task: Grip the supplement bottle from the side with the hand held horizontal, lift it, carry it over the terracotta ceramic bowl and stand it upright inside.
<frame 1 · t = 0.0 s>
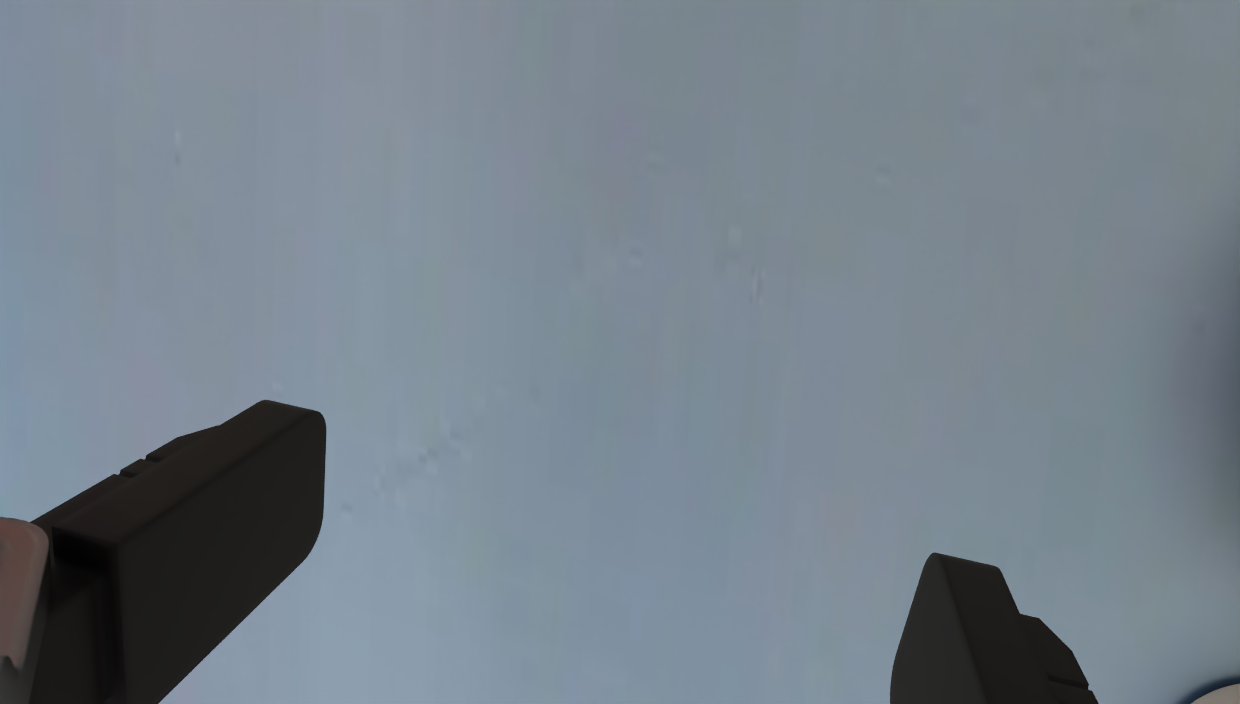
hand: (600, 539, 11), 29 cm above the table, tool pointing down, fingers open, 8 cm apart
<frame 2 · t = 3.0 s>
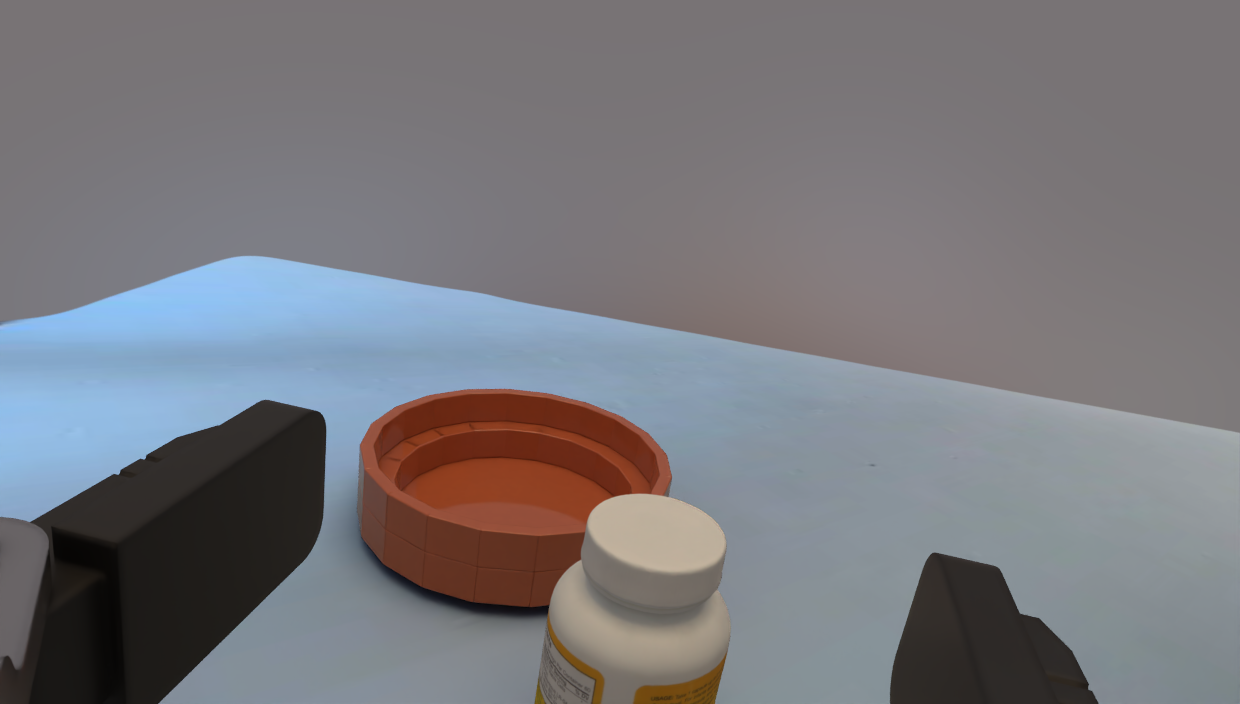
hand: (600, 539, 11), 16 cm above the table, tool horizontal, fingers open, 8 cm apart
bowl: (511, 523, 40), on the table
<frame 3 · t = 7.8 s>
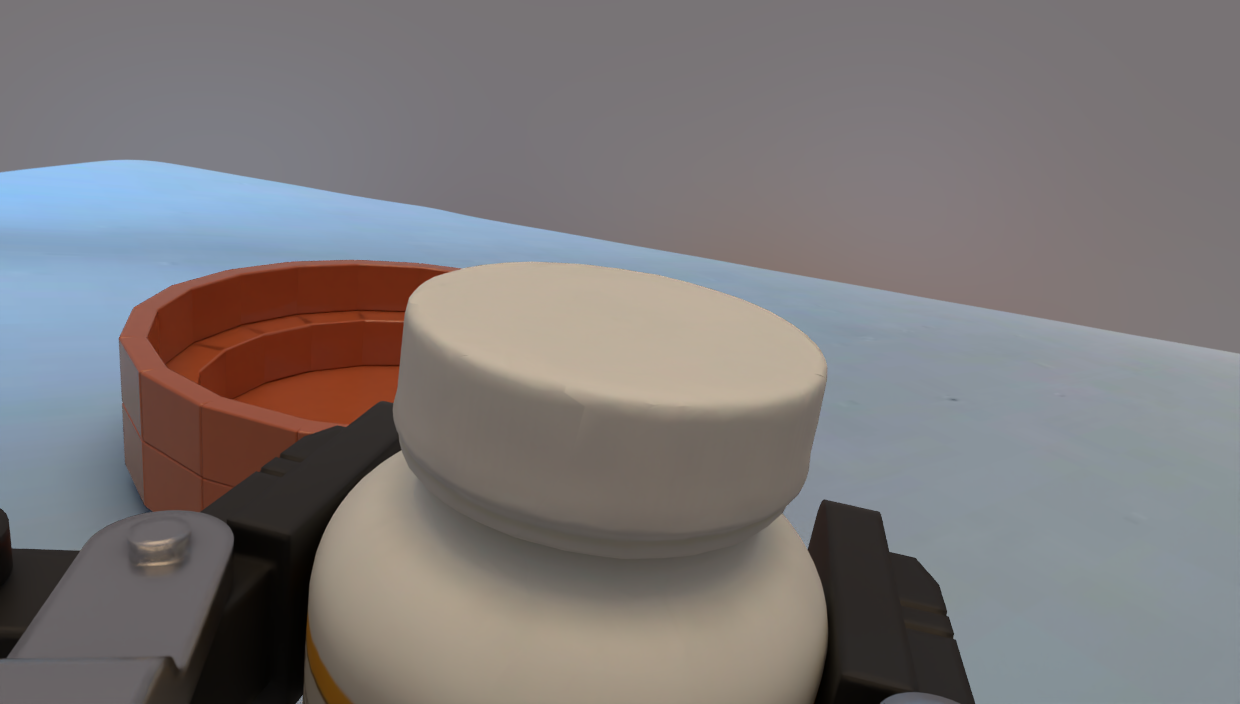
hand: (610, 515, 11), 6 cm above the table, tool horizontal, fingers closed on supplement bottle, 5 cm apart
bowl: (407, 455, 25), on the table
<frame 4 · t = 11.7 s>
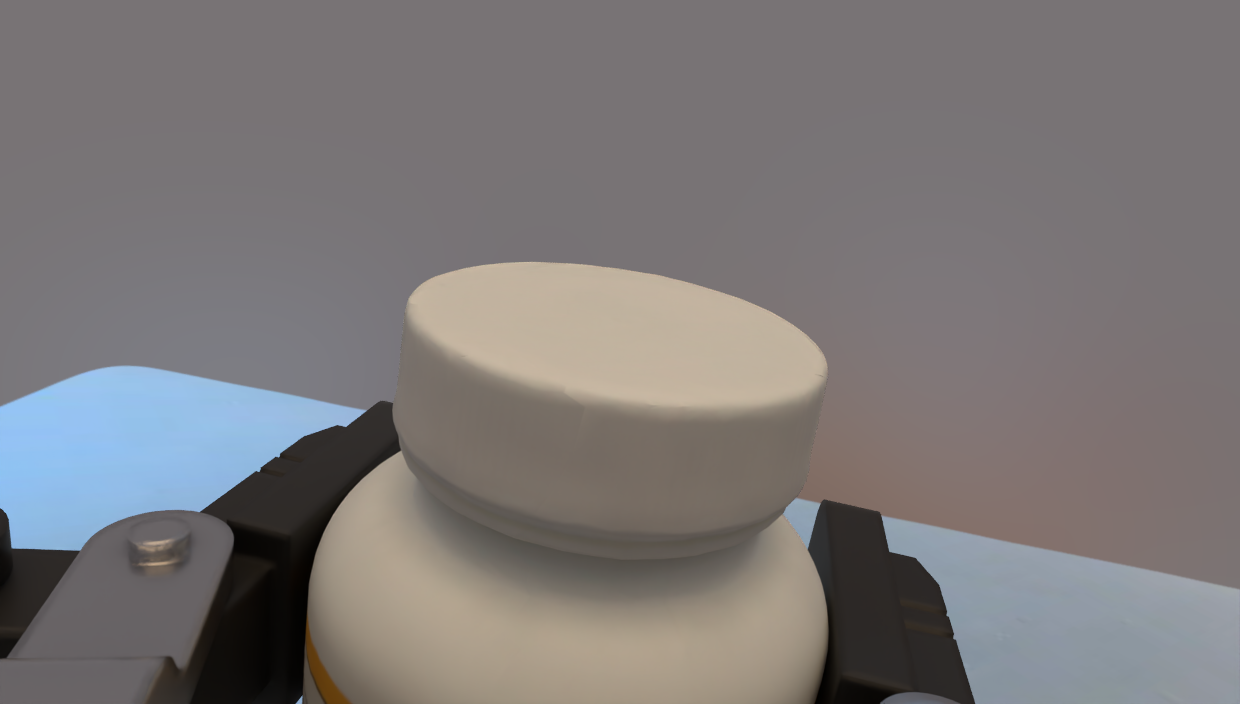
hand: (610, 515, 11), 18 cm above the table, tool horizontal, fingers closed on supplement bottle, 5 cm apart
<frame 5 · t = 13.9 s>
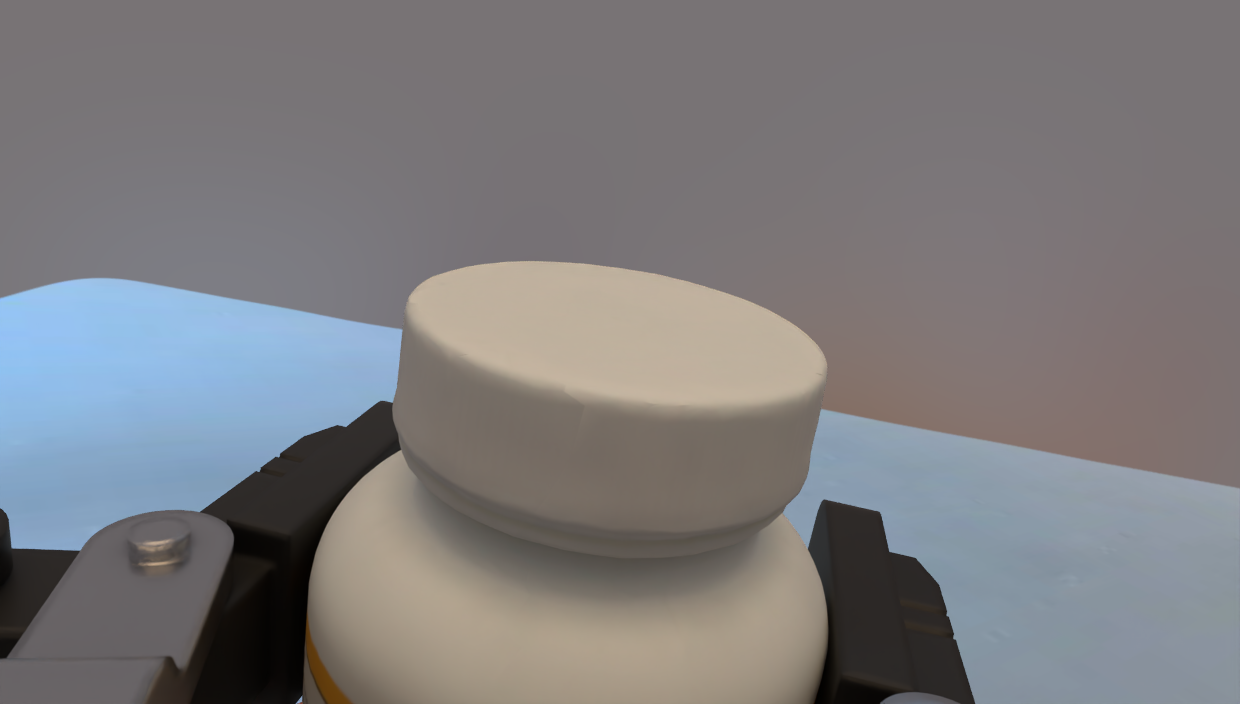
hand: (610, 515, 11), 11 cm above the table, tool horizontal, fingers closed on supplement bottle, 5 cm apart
when the fingers open (7 cm above the table, at t = 15.6 s): supplement bottle stays where it is, resting on bowl.
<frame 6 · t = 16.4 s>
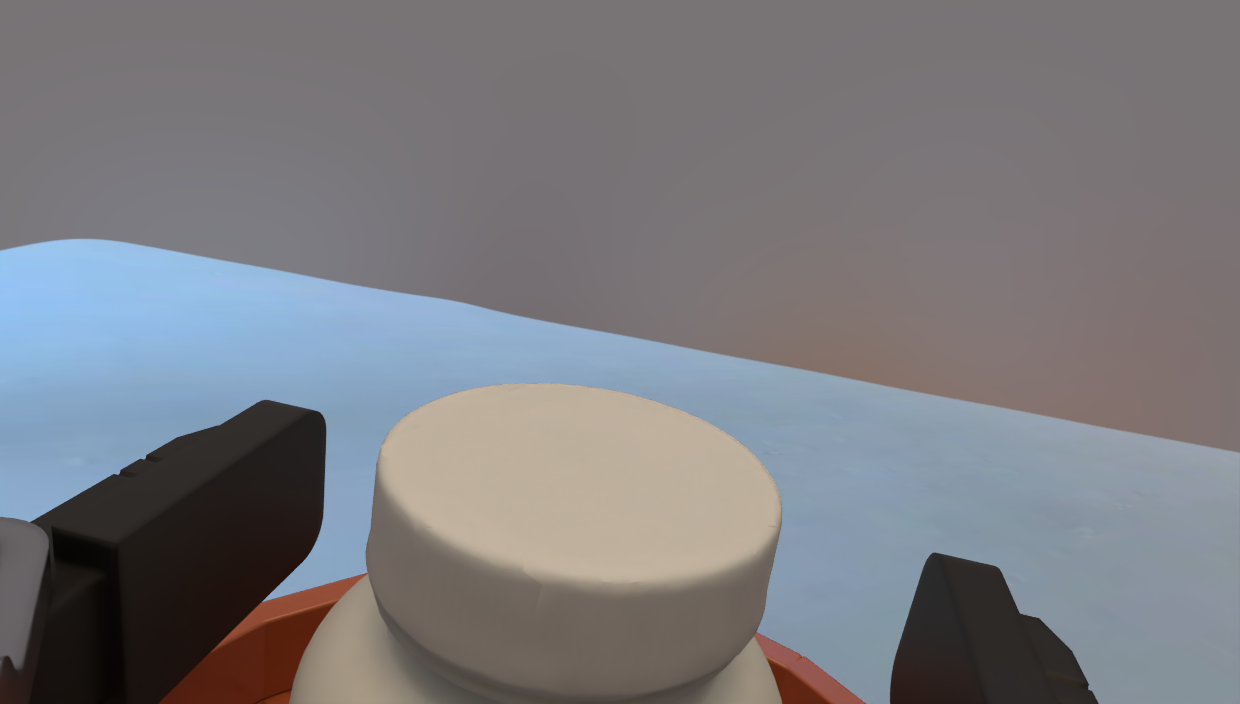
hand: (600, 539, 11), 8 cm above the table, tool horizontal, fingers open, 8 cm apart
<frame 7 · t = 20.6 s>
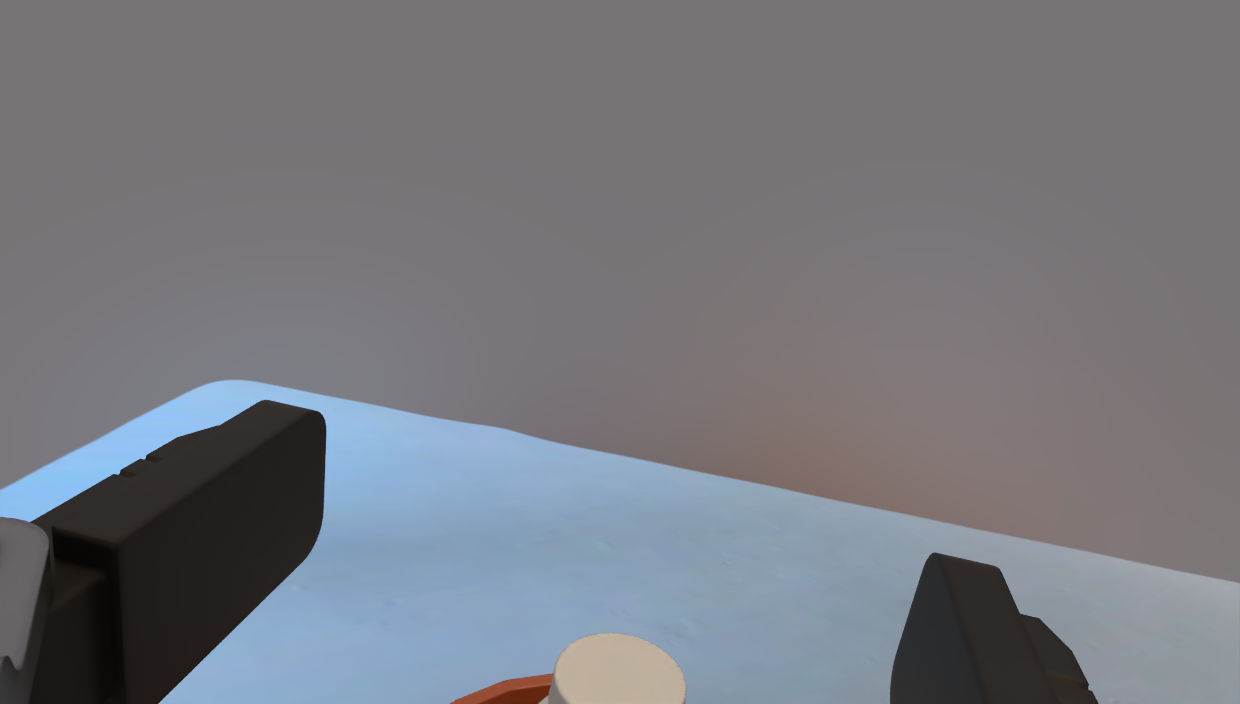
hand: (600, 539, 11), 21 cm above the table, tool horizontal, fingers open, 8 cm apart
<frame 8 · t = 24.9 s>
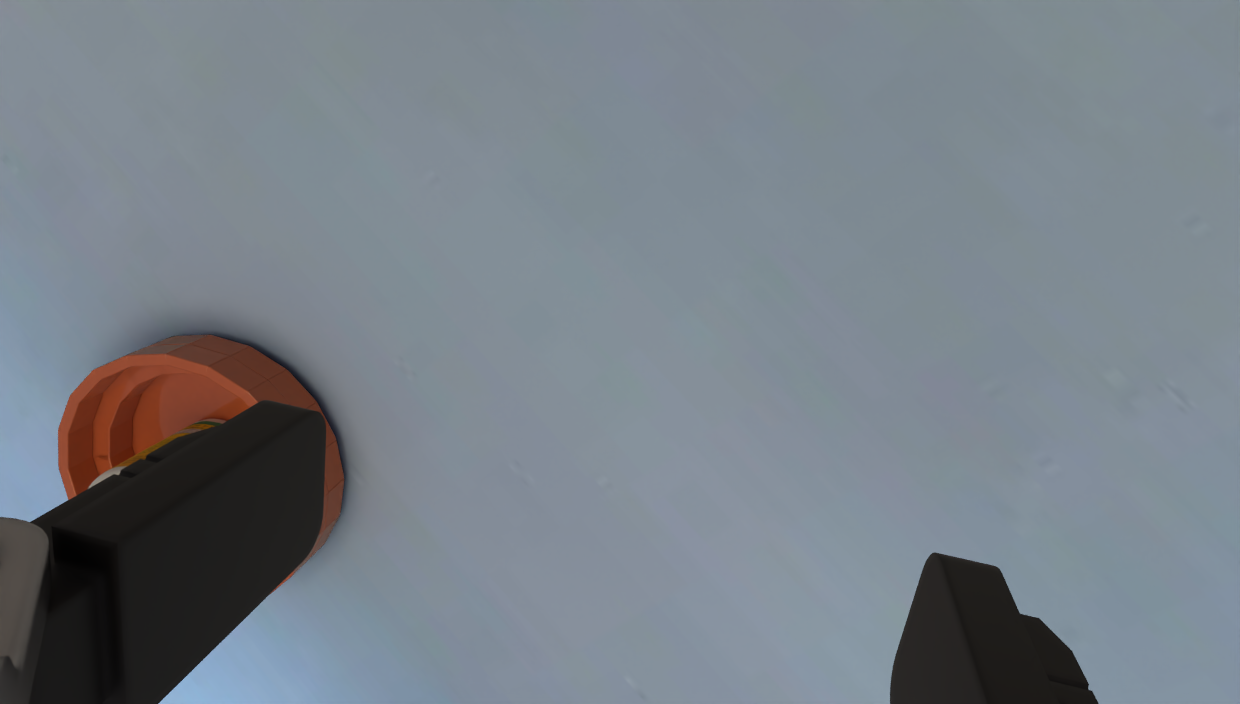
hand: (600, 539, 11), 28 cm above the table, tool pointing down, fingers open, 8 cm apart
bowl: (230, 454, 46), on the table
supplement bottle: (228, 459, 46), resting on bowl
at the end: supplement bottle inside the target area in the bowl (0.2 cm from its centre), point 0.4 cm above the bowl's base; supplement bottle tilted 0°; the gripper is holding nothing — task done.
